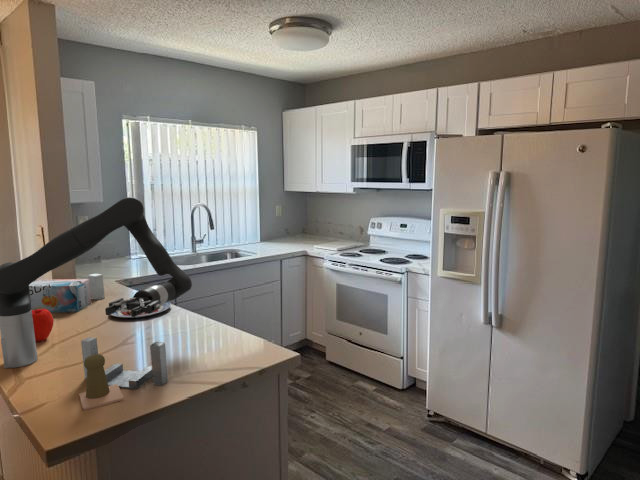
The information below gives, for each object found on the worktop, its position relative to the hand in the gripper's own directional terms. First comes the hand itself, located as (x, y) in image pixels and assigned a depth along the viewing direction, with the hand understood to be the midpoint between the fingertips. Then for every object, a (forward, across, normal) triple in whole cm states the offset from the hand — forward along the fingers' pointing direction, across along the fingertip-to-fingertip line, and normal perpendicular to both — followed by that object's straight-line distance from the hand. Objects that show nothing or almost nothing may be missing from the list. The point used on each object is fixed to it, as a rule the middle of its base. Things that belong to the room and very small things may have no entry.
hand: (119, 312), depth 135 cm
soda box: (-60, -85, +22) cm, 106 cm away
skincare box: (-79, -71, +21) cm, 109 cm away
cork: (+10, -1, +21) cm, 23 cm away
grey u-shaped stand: (0, 0, +21) cm, 21 cm away
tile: (+11, 0, +21) cm, 24 cm away
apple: (-25, -53, +21) cm, 63 cm away
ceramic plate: (-62, -36, +21) cm, 75 cm away
